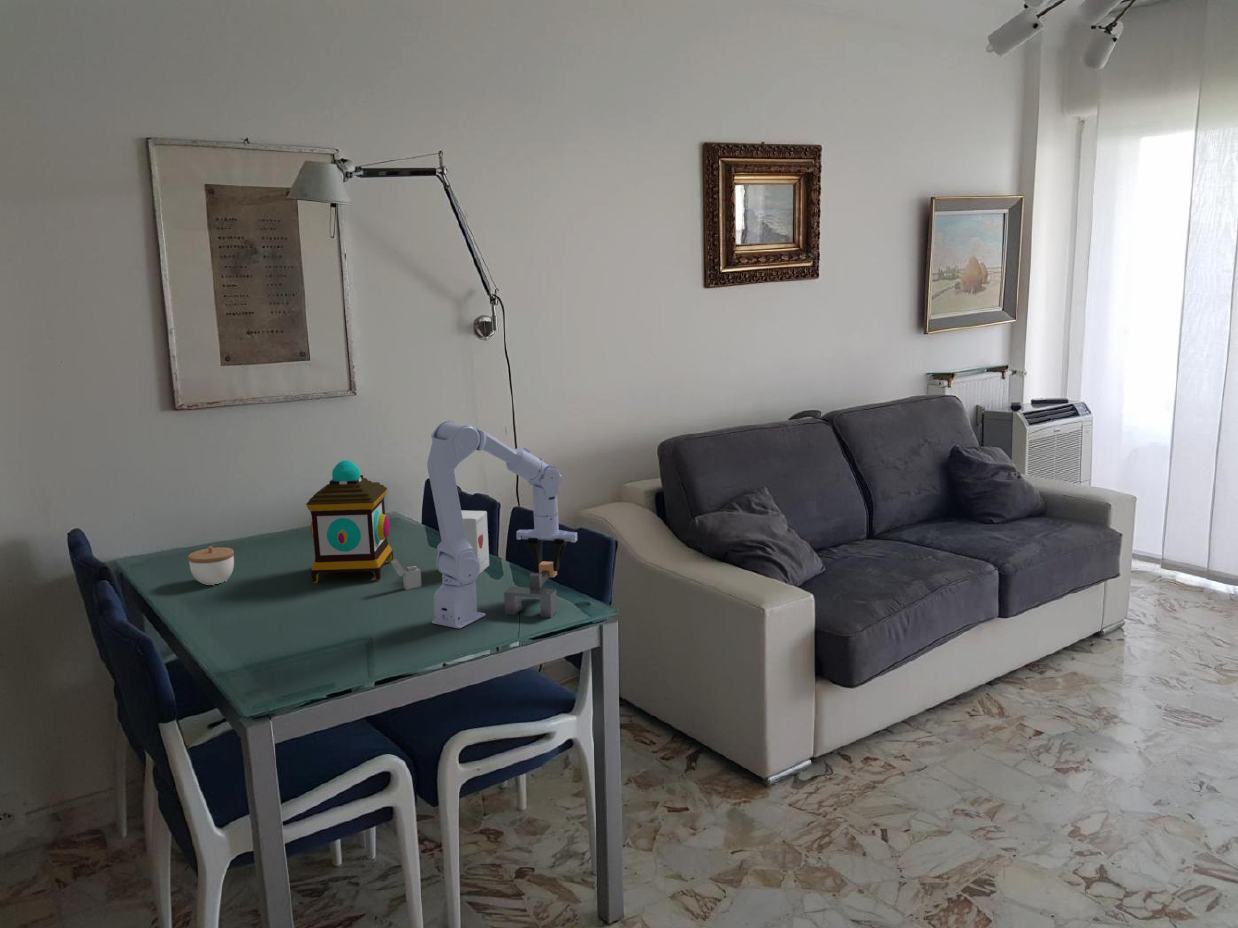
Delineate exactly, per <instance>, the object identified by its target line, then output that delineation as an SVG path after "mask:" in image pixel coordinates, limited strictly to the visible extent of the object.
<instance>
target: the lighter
mask: <svg viewBox="0 0 1238 928" xmlns="http://www.w3.org/2000/svg"><path fill="white" fill-rule="evenodd" d="M390 564H391V566H392V567H393V569H394V570H395V572H396V574H397V575H398V576H399V577H402V582H403V583H402V584H403V589H404V590H407V591H408V590H412V589H416V588H420V587H422V572H421V569H420V568H418V567H417V566H416V565H415V566H414V565H411V566H407V567H406V570H404V568H403V566H402V565H401V564H400V562H399V560H398V559H396V558H393V560H392V561H391V563H390Z"/></svg>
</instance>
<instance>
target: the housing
mask: <svg viewBox="0 0 1238 928" xmlns="http://www.w3.org/2000/svg"><path fill="white" fill-rule="evenodd" d="M503 594H504V596H503V598H504V599H503V601H504V615H505V616H507V615H508V616H509V615H510V616H516V615H517V614H518V613H520V612H521V610H522V609H523V607H522V598H523V597H525V598H535V599H536V598H537V599H539V605H540V606H539V609H540V610H539V611H540V618H547V617H550V618H551V617H552V616H555V614H556V613H558V607H557V606H558V605H557V604H558V601H557V589H554V588H542V587H541V588H530V587H525V586H522V587H521V586H509V587H508V588H507V589H506V590H505V591H503ZM555 612H556V613H555ZM554 613H555V614H554ZM552 618H553V617H552ZM552 618H551V619H552Z"/></svg>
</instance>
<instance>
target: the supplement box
mask: <svg viewBox="0 0 1238 928" xmlns="http://www.w3.org/2000/svg"><path fill="white" fill-rule="evenodd" d="M487 511H488V510H487ZM487 511H486V510H464V509H463V510H462V509H461V512H462V517H463V523H464V528H465V534H466V538H467V540H468V541H469V543H470V544H471V546H472V547H473V550H474V554H475V556H476V558H477V559H478V560H479V562H480V566H481V569H480V573H479V575H480V574H481V573H482V572H483V571H485V570H486V569H487V568H488V567H490V554H489V553H490V550H489V549H490V548H489V533H488V531H489V529H488V512H487Z"/></svg>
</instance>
